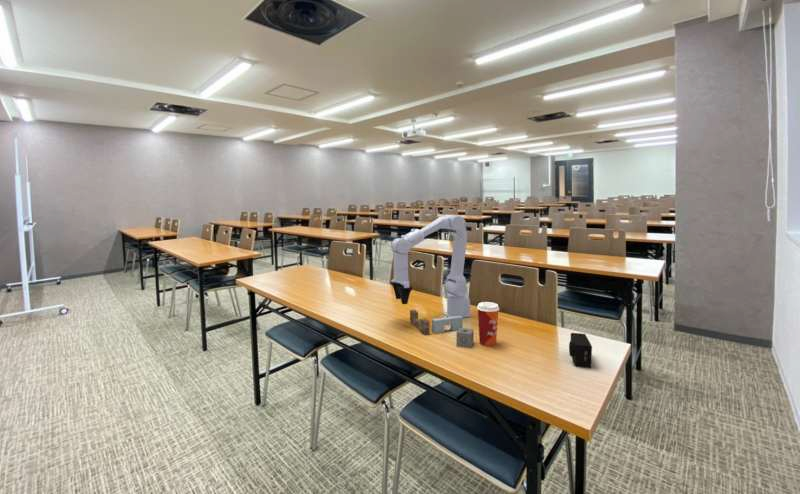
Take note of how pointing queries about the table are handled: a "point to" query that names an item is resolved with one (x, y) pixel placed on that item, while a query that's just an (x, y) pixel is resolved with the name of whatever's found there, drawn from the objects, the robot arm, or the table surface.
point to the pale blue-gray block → (453, 321)
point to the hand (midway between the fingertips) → (401, 301)
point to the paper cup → (487, 322)
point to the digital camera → (580, 350)
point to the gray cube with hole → (465, 337)
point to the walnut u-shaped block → (419, 322)
